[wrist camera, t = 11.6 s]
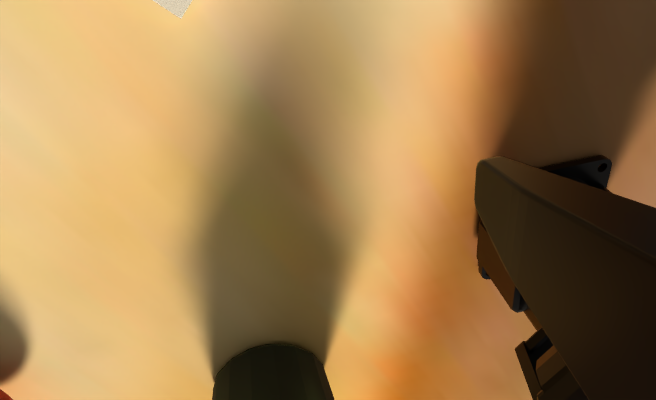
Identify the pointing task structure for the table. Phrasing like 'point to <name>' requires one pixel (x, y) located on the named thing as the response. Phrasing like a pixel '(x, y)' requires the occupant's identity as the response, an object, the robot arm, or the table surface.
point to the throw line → (175, 6)
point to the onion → (4, 396)
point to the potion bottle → (273, 376)
